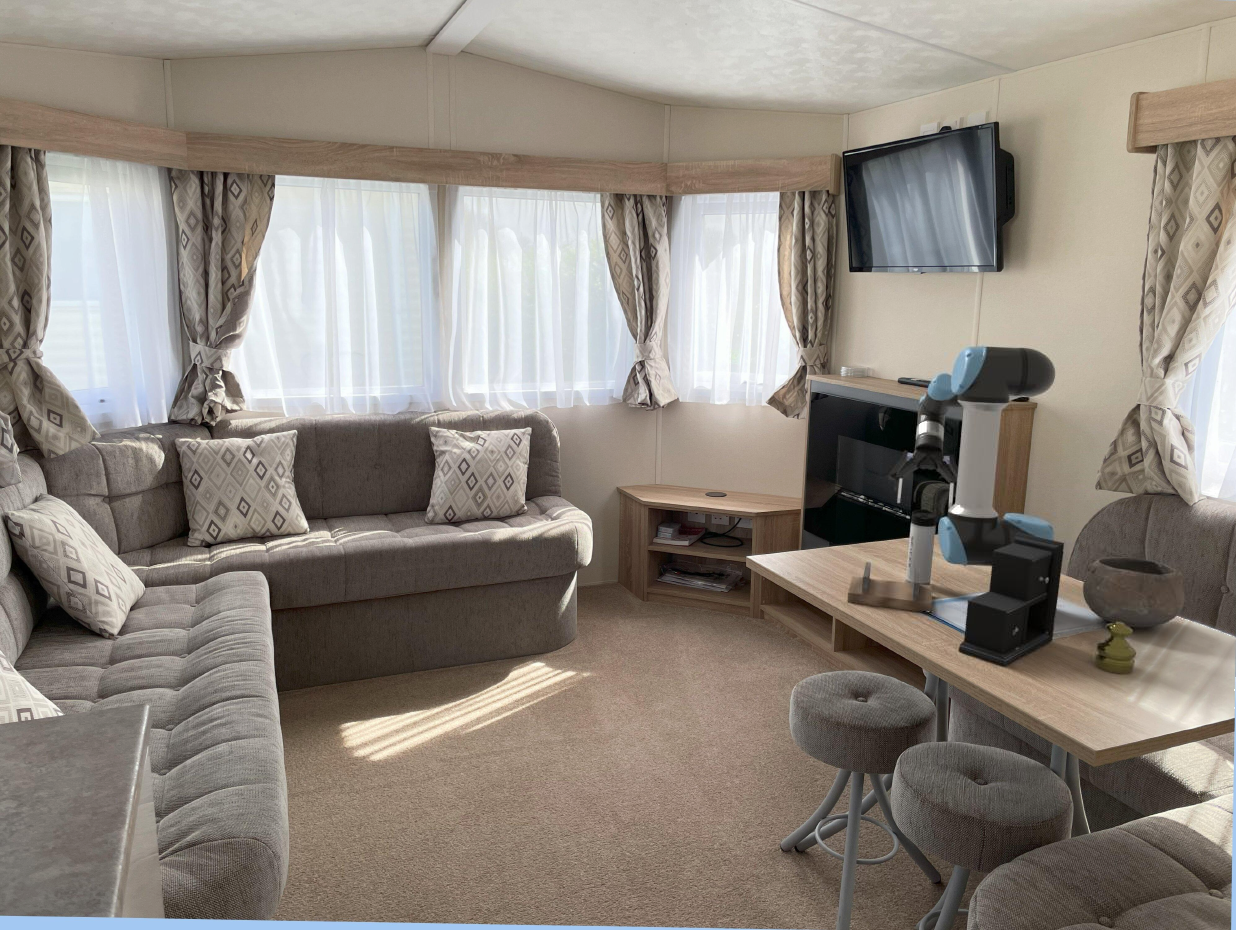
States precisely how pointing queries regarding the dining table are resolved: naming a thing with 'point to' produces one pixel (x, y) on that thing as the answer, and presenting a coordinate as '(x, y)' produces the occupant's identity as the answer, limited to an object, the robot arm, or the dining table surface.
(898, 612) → the dining table surface
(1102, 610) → the clay pot
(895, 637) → the dining table surface
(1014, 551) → the black mini cabinet
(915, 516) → the travel mug
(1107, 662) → the green coiled snake figurine
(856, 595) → the wooden rack
